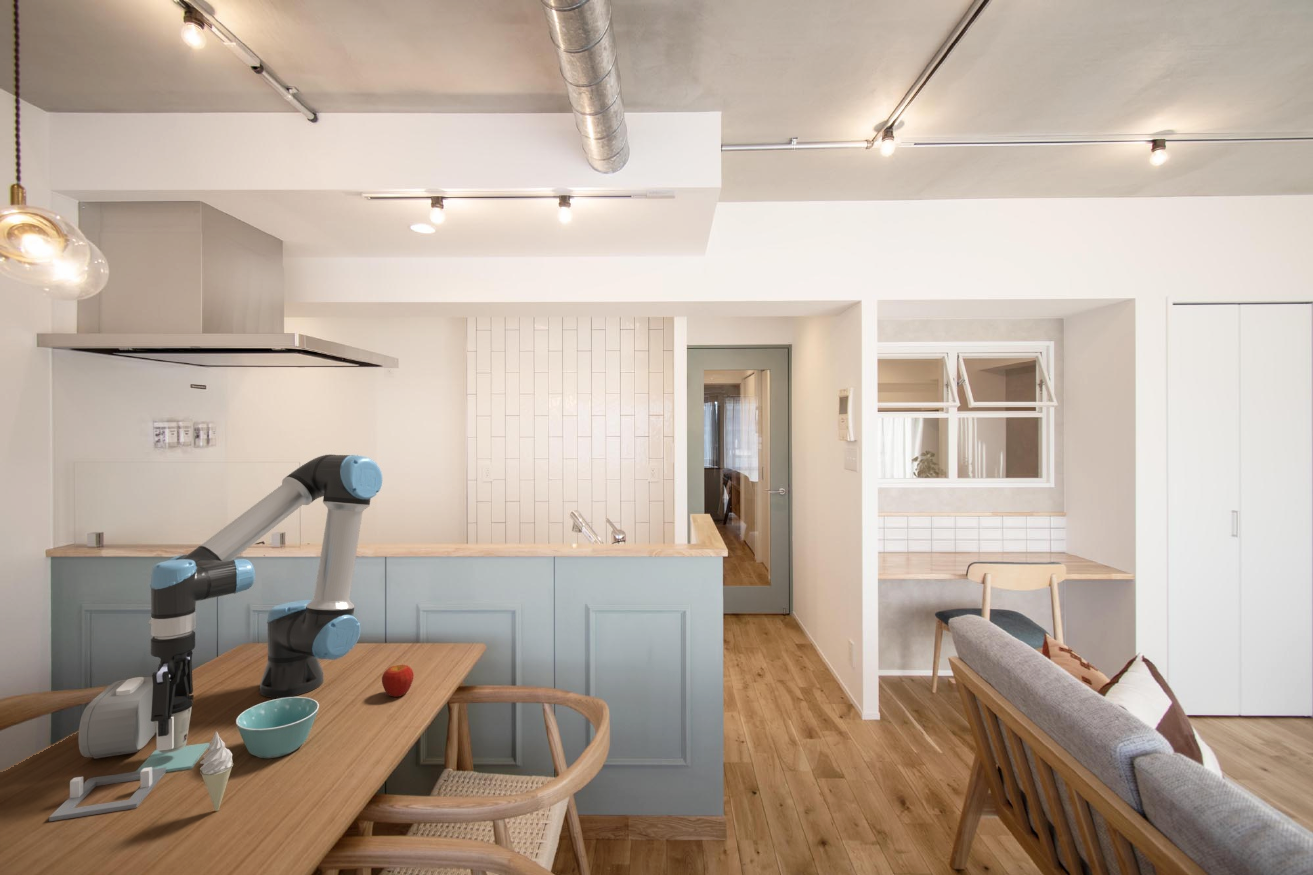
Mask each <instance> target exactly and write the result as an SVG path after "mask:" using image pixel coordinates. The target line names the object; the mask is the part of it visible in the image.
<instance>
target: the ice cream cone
mask: <svg viewBox="0 0 1313 875" xmlns="http://www.w3.org/2000/svg"><path fill="white" fill-rule="evenodd" d="M207 750H208V751H207V752H206V753H205V754H204V755H202V758H203V759H202V760H200V761H199V764H200V765H201V767H200V768H199V770H200V773H199V774H200V775H201V776H202V778H203V779H202V780H203V781H204V784H205V786H206V790H207V792H208V795H209V798H210V800H211V803H212V806H213V808H214V811H215V812H218V811H219V810H220V807H221V803H222V800H223V797H224V794H225V791H226V787H227V785H228V781H229V777H230V776H231V771H232V767H233V766H234V762H233V753H232V751H231V750H230V749H229V748H226V742H224V741H223V740H222V738H221V737H220V735H219V733H218V731H217V730H216V731H215V733H214V735H213V738H212V740H211V741H210V743H209V747H208V748H207ZM202 764H203V765H202Z"/></svg>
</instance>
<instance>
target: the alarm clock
mask: <svg viewBox="0 0 1313 875" xmlns="http://www.w3.org/2000/svg"><path fill="white" fill-rule="evenodd" d="M152 694H153V680H152V676H146V677H144V676H138V677H131V678H129V679H121V680H119V679H118V680H117V681H114V682H113V683H111V684H110V685H108V686H107V687H106V688H105V689H104V690H102V691H101V692H100V693H99V694H98V695H97V696H96V697H95V698H94V699H92V700H91V701H90V702H89V703H88V704H87V705H86V706H85V708H84V710H83V712H82V714H81V717H80V722H79V726H78V748H79V752H80V754H81V755H82V757H85V758H93V759H100V758H107V757H113V756H120V755H127V754H133V753H138V751H140V750H141V749H143V748H144V747H145V746H146V745H147V744H148V743H149V741H150V740H151V739H152V738H153V737H154V736H155V735H156V734H157V733H156V726H155V721H154V722H152V721H151V713H152Z"/></svg>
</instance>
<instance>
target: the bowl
mask: <svg viewBox="0 0 1313 875" xmlns="http://www.w3.org/2000/svg"><path fill="white" fill-rule="evenodd" d="M319 707H320V704H319V702H318V701H317V700H315V699H313V698H310V697H305V696H289V697H279V698H276V699H272V700H267V701H264V702H260V703H258V704H256V705H252V706H251V707H250V708H248V709H245V710H244V711H243V712H241V713H240V714H239V715H237V717H236V719H235V724H236V727H237V729H238V731H239V734H240V736H241V739H242V740H243V744H244V745H245V747H246V749H247V751H248V753H249V754H251V755H252V756H255V757H257V758H261V759H273V758H279V757H283V756H286V755H288V754H291V753H292V752H295V751H296V750H298V749H299V748H300V747H301V746H302V745H303V744H304V743H305V742H306V740H307V739H308V737H309V735H310V732H311V731H312V730H311V729H312V728H313V724H314V722H315V720H316V717H317V714H318V712H319V709H320V708H319Z"/></svg>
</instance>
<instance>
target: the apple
mask: <svg viewBox="0 0 1313 875" xmlns="http://www.w3.org/2000/svg"><path fill="white" fill-rule="evenodd" d="M414 678H415V676H414V671H413V669H412V668H411V667H410V666H409V665H407V664H398V665H393V666H390V667H388V668H387V670H385V671H384V672H383V674H382V676H381V684H382V687H383V689H384V691H385V693H386V694H387V695H389V696H391V697H394V698H398V697H402V696H404V695H405V694H406V693H407V692H409V690H410V688H411V687H412V683H413V681H414Z"/></svg>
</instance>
